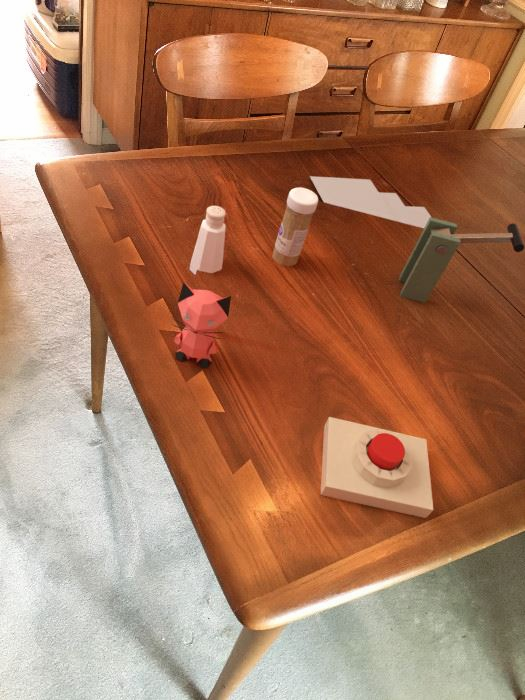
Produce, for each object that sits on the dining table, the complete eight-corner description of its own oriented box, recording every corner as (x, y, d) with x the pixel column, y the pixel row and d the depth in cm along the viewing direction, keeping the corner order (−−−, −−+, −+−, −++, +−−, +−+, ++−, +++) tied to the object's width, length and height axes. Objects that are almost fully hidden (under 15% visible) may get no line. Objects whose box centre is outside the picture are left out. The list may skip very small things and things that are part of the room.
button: (398, 444, 68) (404, 437, 66) (400, 473, 65) (406, 465, 64) (367, 437, 67) (372, 429, 66) (367, 465, 65) (372, 458, 63)
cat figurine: (162, 365, 73) (170, 298, 64) (177, 329, 78) (186, 263, 69) (214, 379, 73) (229, 315, 64) (225, 343, 78) (241, 279, 69)
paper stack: (407, 184, 120) (409, 181, 120) (462, 259, 105) (463, 256, 105) (308, 179, 113) (309, 176, 112) (351, 259, 97) (353, 256, 97)
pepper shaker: (212, 285, 85) (224, 226, 77) (182, 270, 86) (190, 210, 78) (228, 267, 89) (241, 209, 81) (199, 253, 90) (209, 194, 82)
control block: (419, 448, 73) (432, 431, 70) (425, 518, 66) (440, 503, 63) (324, 426, 72) (333, 408, 69) (320, 495, 65) (330, 478, 62)
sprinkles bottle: (265, 257, 93) (284, 187, 83) (288, 254, 95) (310, 185, 85) (277, 275, 90) (298, 204, 81) (301, 271, 92) (324, 202, 83)
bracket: (439, 287, 98) (478, 222, 88) (444, 322, 91) (487, 256, 82) (374, 270, 97) (405, 203, 87) (375, 304, 91) (409, 236, 81)
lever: (515, 233, 86) (518, 220, 85) (522, 254, 83) (526, 241, 81) (428, 235, 88) (429, 222, 87) (431, 256, 85) (432, 242, 83)
